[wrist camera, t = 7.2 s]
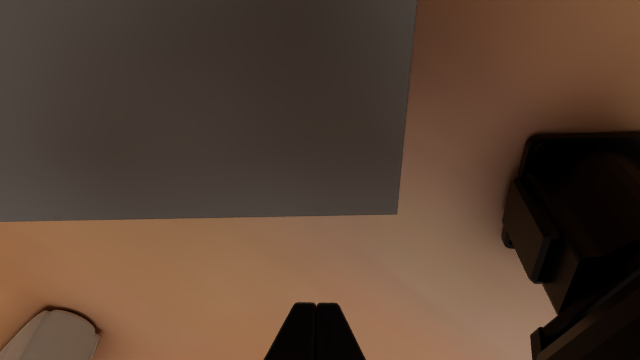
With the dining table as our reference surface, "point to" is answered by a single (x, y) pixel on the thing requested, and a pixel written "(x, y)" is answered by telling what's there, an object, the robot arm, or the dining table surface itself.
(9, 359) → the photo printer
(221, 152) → the large grey box
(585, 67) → the dining table surface
